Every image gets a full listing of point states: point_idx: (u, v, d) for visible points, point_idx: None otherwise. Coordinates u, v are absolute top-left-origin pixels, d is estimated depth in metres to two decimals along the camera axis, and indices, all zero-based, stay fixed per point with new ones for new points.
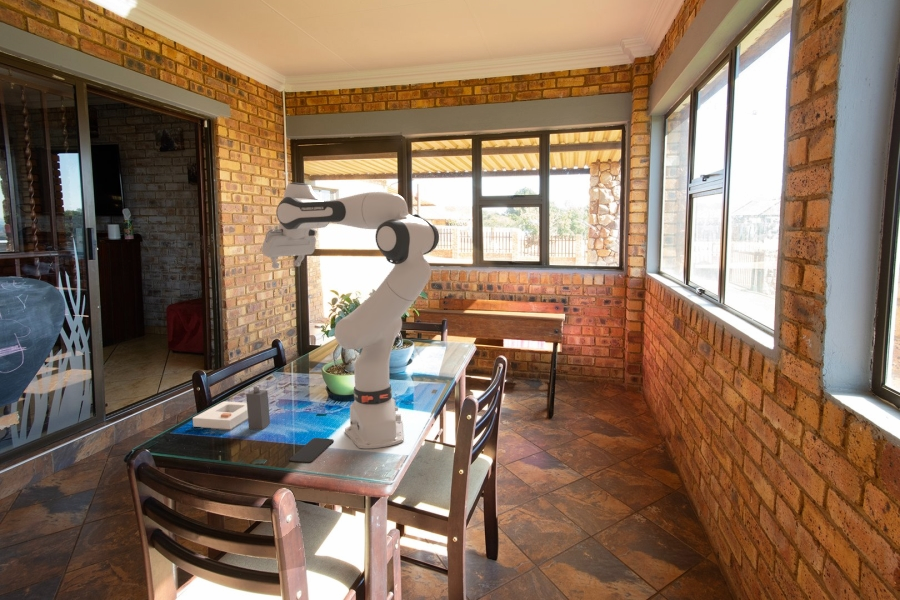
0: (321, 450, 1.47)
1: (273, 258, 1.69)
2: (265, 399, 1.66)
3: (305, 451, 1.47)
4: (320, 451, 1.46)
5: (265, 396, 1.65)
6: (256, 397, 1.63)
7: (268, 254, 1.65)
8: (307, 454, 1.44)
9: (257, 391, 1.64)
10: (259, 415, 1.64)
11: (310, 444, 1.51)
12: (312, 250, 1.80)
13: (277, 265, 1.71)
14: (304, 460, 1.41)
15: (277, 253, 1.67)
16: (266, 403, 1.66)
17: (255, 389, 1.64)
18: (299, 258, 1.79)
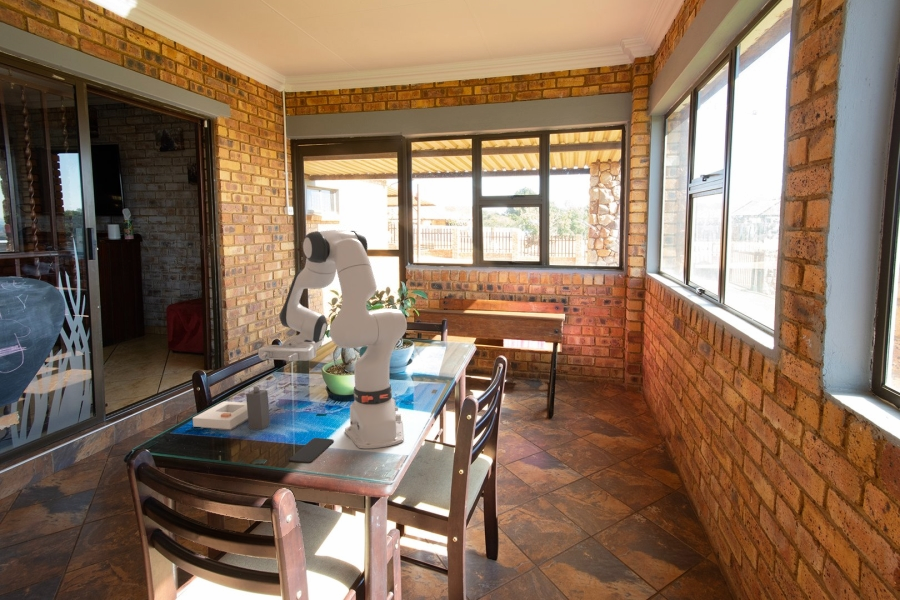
0: (321, 450, 1.47)
1: None
2: (265, 399, 1.66)
3: (305, 451, 1.47)
4: (320, 451, 1.46)
5: (265, 396, 1.65)
6: (256, 397, 1.63)
7: (259, 349, 1.83)
8: (307, 454, 1.44)
9: (257, 391, 1.64)
10: (259, 415, 1.64)
11: (310, 444, 1.51)
12: (306, 349, 1.79)
13: (264, 354, 1.78)
14: (304, 460, 1.41)
15: (267, 348, 1.82)
16: (266, 403, 1.66)
17: (255, 389, 1.64)
18: None
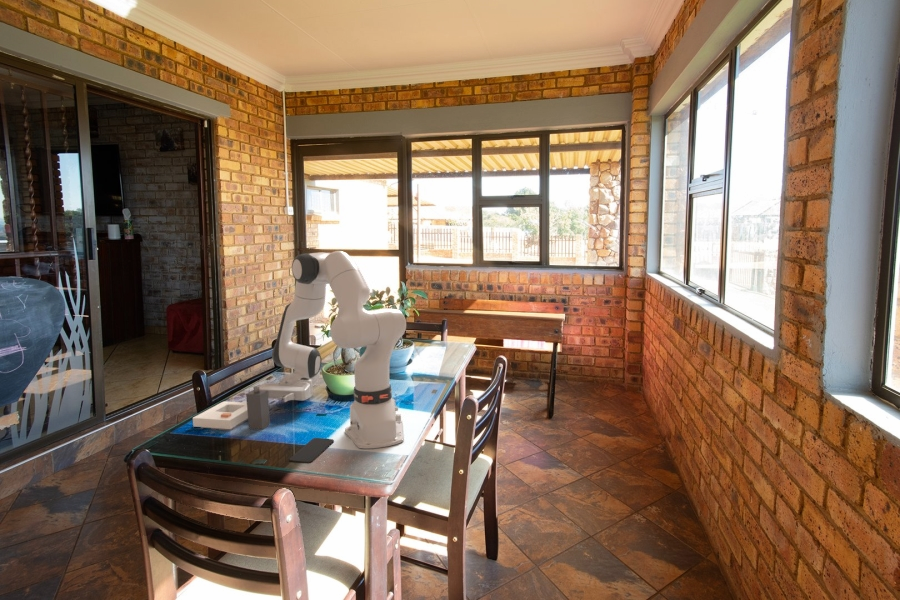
0: (321, 450, 1.47)
1: None
2: (265, 399, 1.65)
3: (305, 451, 1.47)
4: (320, 451, 1.46)
5: (265, 396, 1.65)
6: (256, 397, 1.63)
7: None
8: (307, 454, 1.44)
9: (257, 391, 1.64)
10: (259, 415, 1.64)
11: (310, 444, 1.51)
12: (303, 389, 1.77)
13: None
14: (304, 460, 1.41)
15: (263, 387, 1.80)
16: (266, 403, 1.66)
17: (255, 389, 1.64)
18: None
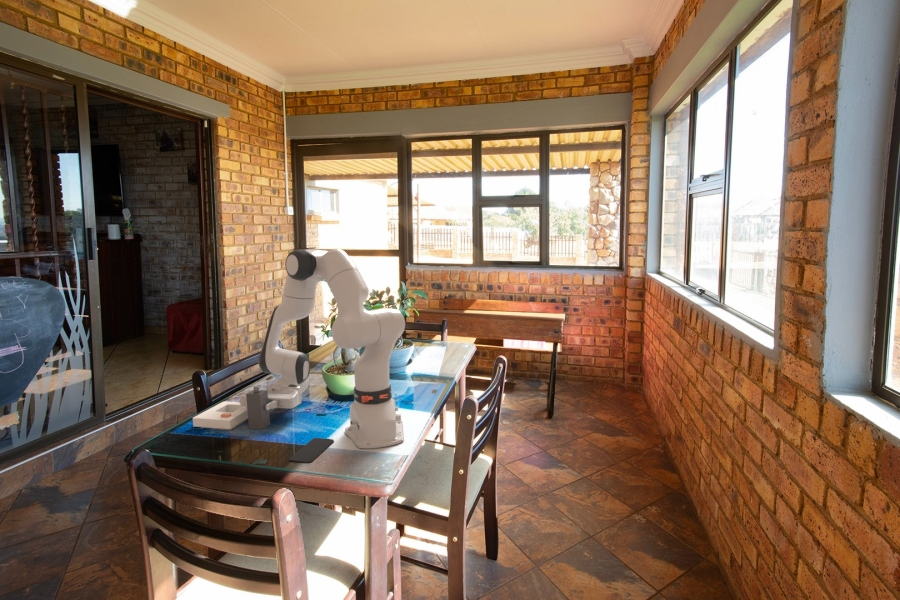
0: (321, 450, 1.47)
1: None
2: (265, 399, 1.66)
3: (305, 451, 1.47)
4: (320, 451, 1.46)
5: (265, 396, 1.65)
6: (256, 397, 1.63)
7: (240, 395, 1.72)
8: (307, 454, 1.44)
9: (257, 391, 1.64)
10: (259, 415, 1.64)
11: (310, 444, 1.51)
12: (290, 396, 1.69)
13: None
14: (303, 460, 1.41)
15: None
16: None
17: (255, 389, 1.64)
18: None
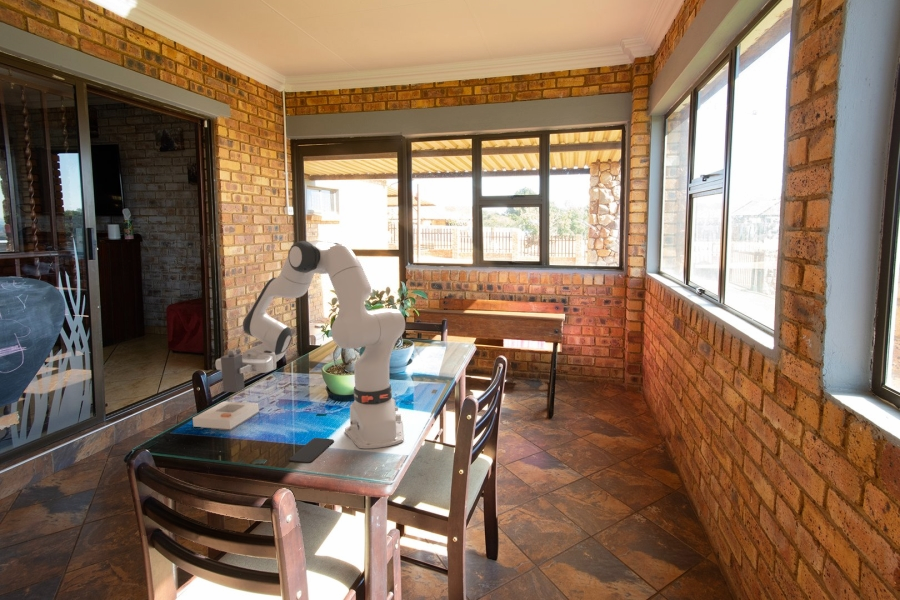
0: (321, 450, 1.47)
1: None
2: (239, 363, 1.71)
3: (305, 451, 1.47)
4: (320, 451, 1.46)
5: (239, 360, 1.70)
6: (231, 360, 1.68)
7: (216, 360, 1.77)
8: (307, 454, 1.44)
9: (231, 355, 1.69)
10: (233, 378, 1.69)
11: (310, 444, 1.51)
12: (264, 361, 1.74)
13: None
14: (303, 460, 1.41)
15: None
16: None
17: (229, 353, 1.69)
18: None
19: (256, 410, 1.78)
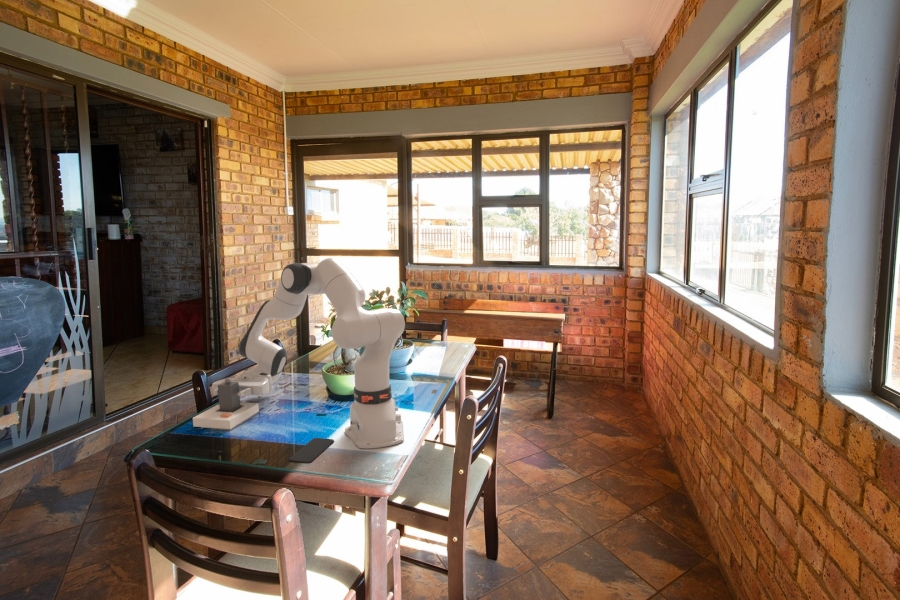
0: (321, 450, 1.47)
1: None
2: (236, 390, 1.74)
3: (305, 451, 1.47)
4: (320, 451, 1.46)
5: (236, 387, 1.74)
6: (227, 388, 1.71)
7: (213, 383, 1.80)
8: (307, 454, 1.44)
9: (228, 382, 1.72)
10: (230, 406, 1.72)
11: (310, 444, 1.51)
12: (260, 384, 1.77)
13: (217, 389, 1.75)
14: (303, 460, 1.41)
15: (221, 382, 1.80)
16: (237, 394, 1.74)
17: (226, 380, 1.72)
18: None
19: (256, 410, 1.78)
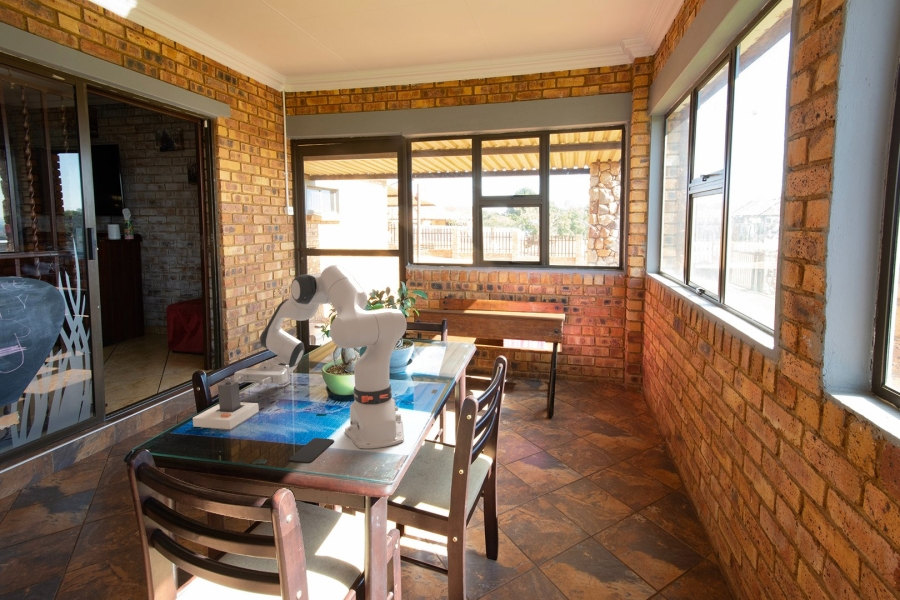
0: (321, 450, 1.47)
1: None
2: (236, 390, 1.74)
3: (305, 451, 1.47)
4: (320, 451, 1.46)
5: (236, 387, 1.74)
6: (227, 388, 1.71)
7: (235, 372, 1.93)
8: (307, 454, 1.44)
9: (228, 382, 1.72)
10: (230, 406, 1.72)
11: (310, 444, 1.51)
12: (279, 373, 1.89)
13: (239, 378, 1.87)
14: (303, 460, 1.41)
15: (243, 372, 1.92)
16: (237, 394, 1.74)
17: (226, 380, 1.72)
18: None
19: (256, 410, 1.78)
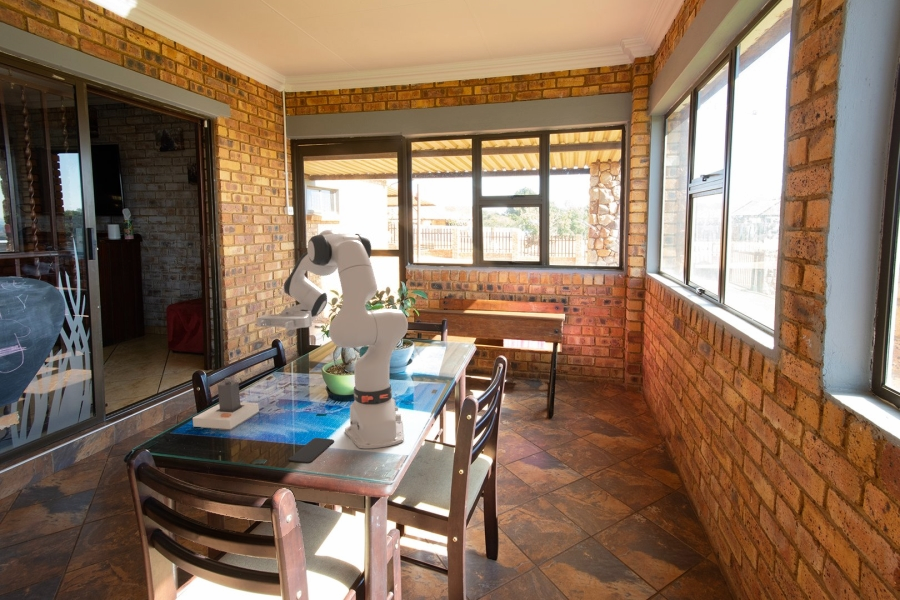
0: (321, 450, 1.47)
1: None
2: (236, 390, 1.74)
3: (305, 451, 1.47)
4: (320, 451, 1.46)
5: (236, 387, 1.74)
6: (227, 388, 1.71)
7: (257, 317, 1.92)
8: (307, 454, 1.44)
9: (228, 382, 1.72)
10: (230, 406, 1.72)
11: (310, 444, 1.51)
12: (302, 317, 1.89)
13: (262, 321, 1.87)
14: (303, 460, 1.41)
15: (265, 316, 1.92)
16: (237, 394, 1.74)
17: (226, 380, 1.72)
18: None
19: (256, 410, 1.78)
